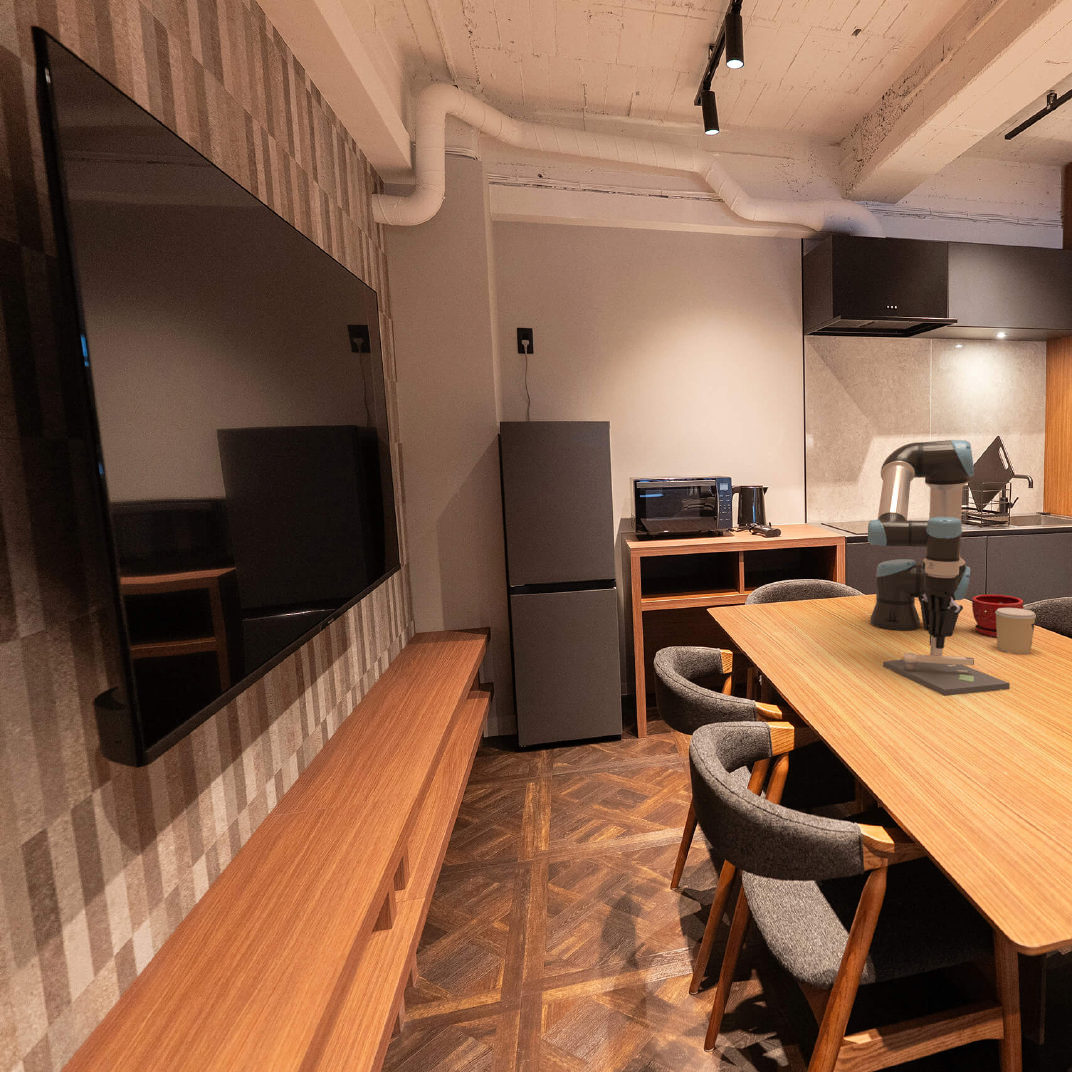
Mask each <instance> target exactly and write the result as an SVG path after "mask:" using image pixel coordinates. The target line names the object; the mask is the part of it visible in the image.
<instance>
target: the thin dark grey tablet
mask: <svg viewBox="0 0 1072 1072" xmlns="http://www.w3.org/2000/svg"><path fill="white" fill-rule="evenodd" d="M882 667H884V668H885V669H888V670H889V671H892V672H894V673H896V674H898V675H900V676H902V677H904V678H907V679H909V680H911V681H913V682H915V683H918V684H920V685H922V686H924V687H925V688H928V689H930V690H933V691H935V692H937V693H938V694H940V695H943V696H951V695H960V694H961V695H963V694H971V693H981V692H982V691H983V692H989V691H990V692H991V691H1001V690H1000V689H1003V690H1009V689H1010V686H1011V685H1010V684H1011V683H1010V682H1008V681H1005V680H1003V679H1000V678H998V677H995V676H993V675H989V674H988V673H985V672H982V671H980V670H977V669H975V668H972V667H969V666H968V665H960V664H943V663H926V662H917V663H909V662H905V661H904V658H903V659H894V660H883V661H882Z"/></svg>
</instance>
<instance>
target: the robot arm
mask: <svg viewBox="0 0 1072 1072" xmlns="http://www.w3.org/2000/svg"><path fill="white" fill-rule="evenodd" d="M974 466H975V465H974V459H973V451H972V445H971V443H970V441H968V440H965V439H964V440H963V439H949V440H948V439H945V440H935V441H934V440H933V441H921V442H920V441H918V442H912V443H907V444H905V445H902V446H900V447H899V448H897V449H895V450H894V451H893V452H892V453H890V454H889V455H888V456H887V457H886V459H885V460H884V461H883V463H882V465H881V468H880V478H881V480H882V485H881V486H882V487H881V492H880V501H879V508H878V515H877V519H874V520H873V519H872V520H869V522H868V525H867V542H868V544H870V545H871V546H882V547H914V548H916V547H919V548H920V547H921V548H922V547H923V548H925V558H923V560H922V564H917V562H916V560H915V559H908V558H905V559H903V558H901V559H892V560H886V561H882V562H880V563H879V564H878V565H877V567H876V574H875V577H876V596H875V597H876V601H875V605H874V608H873V611H872V613H871V615H870V621H869V622H871V623H870V624H871V625H872V624H873V625H872V626H874V627H877V626H878V627H877V628H880V627H882V629H884V630H885V629H886V630H892V629H893V631H913V630H918V629H919V628H921V619H920V617H919V616H920V615H919V613H918V610H917V608H916V603H915V602H916V599H917V600H918V601H919V604H920V610H921V611H920V612H921V617H922V624H923V630H924V631H927V632H928V634H929V646H930V649H929V650H930V653H929V655H936V656H943V652H944V651H943V649H944V648H945V639H946V638H948V637H952V636H953V634H954V630H955V627H956V626H957V625H956V624H957V622H958V618H959V615H960V613H961V612H962V610H963V609H964V607H963V605H962V604H960V605H959V604H958V603H957V602H956V601H961V600H964V599H965V598H966V596H967V592H968V589H969V583H970V576H971V567H970V566H967V565H966V561H965V560H964V559H963V558H962V557H961V546H962V545H961V542H962V533H963V527H962V507H963V487H964V486H966V485H967V484H968V483H969V477H975V467H974ZM914 478H915V479H916V478H924V483H925V484H926V485H927V486H928V487H929V519H928V520H912V519H911V520H908V514H909V513H908V512H909V504H910V503H909V501H910V491H911V482H912V481H913V480H914Z"/></svg>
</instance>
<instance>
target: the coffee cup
mask: <svg viewBox="0 0 1072 1072" xmlns="http://www.w3.org/2000/svg"><path fill="white" fill-rule="evenodd" d="M995 613H996V628H997V637H996V640H997V641H996V644H997V645H996V646H997V649H998V650H999V649H1000V651H1001V652H1004V651H1005V652H1004V653H1008V652H1010V654H1018V655H1028V654H1030V653H1031V650H1032V645H1033V644H1032V643H1033V637H1034V630H1035V621H1036V617H1037V615H1036V613H1035V612H1034V611H1032V610H1030V609H1024V608H1023V609H1018V608H999V609H997V611H996V612H995Z"/></svg>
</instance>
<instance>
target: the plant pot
mask: <svg viewBox="0 0 1072 1072" xmlns="http://www.w3.org/2000/svg"><path fill="white" fill-rule="evenodd" d="M971 598H972V599H971V608H972V614H973V618H974V621H975V622H976V624H975V627H974V628H975V630H976V631H977V632H978V633H980V634H983V635H986V636H990V637H996V638H997V628H996V613H995V612H996V611H997V609H999V608H1018V609H1024V600H1023V599H1021V598H1019V597H1016V596H1011V595H1004V594H980V595H976V596H973V597H971Z"/></svg>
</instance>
